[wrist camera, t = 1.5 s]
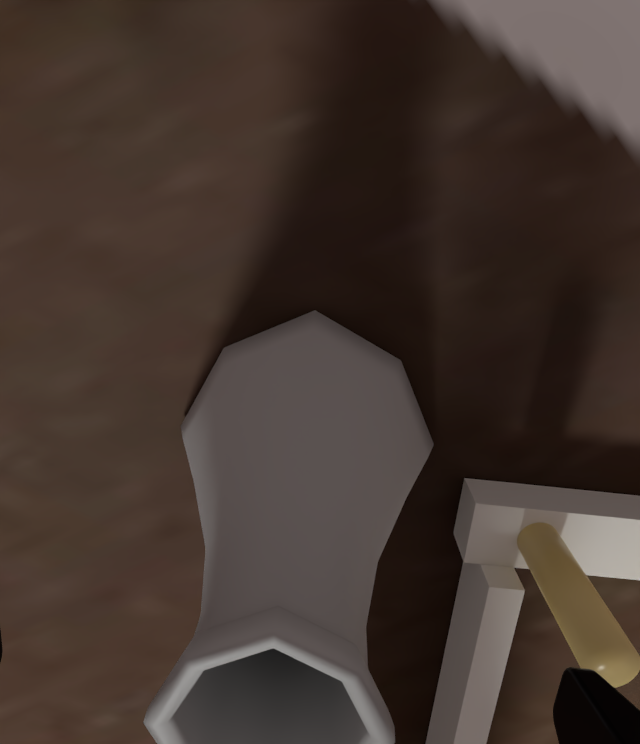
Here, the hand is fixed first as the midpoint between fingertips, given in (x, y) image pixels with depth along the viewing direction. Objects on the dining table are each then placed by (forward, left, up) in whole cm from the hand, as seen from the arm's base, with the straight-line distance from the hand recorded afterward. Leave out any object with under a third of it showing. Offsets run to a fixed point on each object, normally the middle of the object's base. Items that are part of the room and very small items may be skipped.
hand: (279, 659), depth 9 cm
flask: (0, 0, -9) cm, 9 cm away
